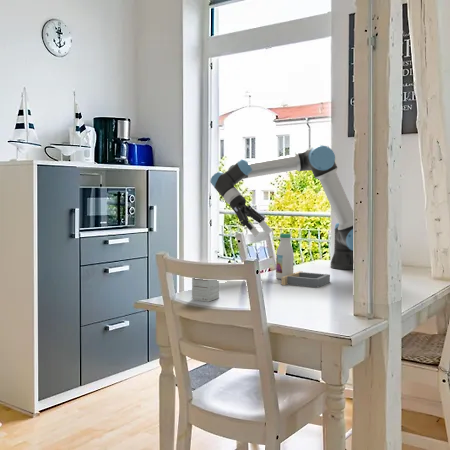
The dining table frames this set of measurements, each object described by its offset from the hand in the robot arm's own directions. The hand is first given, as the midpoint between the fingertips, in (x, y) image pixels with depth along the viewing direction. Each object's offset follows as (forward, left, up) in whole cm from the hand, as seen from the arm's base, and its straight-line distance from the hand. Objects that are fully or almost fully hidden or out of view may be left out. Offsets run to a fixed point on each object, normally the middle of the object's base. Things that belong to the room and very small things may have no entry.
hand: (263, 233), depth 253 cm
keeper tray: (+6, +24, -20) cm, 31 cm away
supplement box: (+58, +5, -20) cm, 61 cm away
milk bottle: (0, +11, -20) cm, 22 cm away
